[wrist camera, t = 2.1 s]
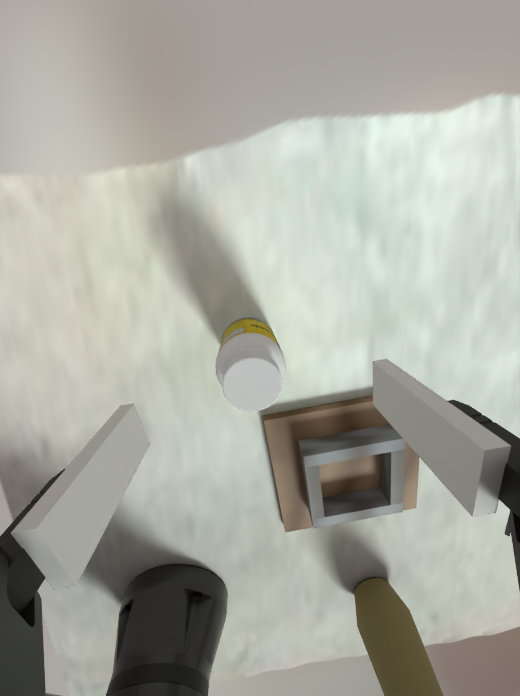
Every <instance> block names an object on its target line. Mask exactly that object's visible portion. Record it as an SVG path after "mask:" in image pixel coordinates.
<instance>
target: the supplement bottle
mask: <svg viewBox="0 0 520 696" xmlns="http://www.w3.org/2000/svg"><path fill="white" fill-rule="evenodd" d="M285 369H286V365H285V359H284V355H283V352H282V350H281V348H280V346H279V344H278V342H277V340H276V338H275V336H274V333H273V331H272V330H271V328H270V327H269V326H268V325H267V324H266V323H264V322H263V321H261V320H259V319H256V318H242V319H239V320H237V321H235V322H233V323H232V324H231V325H230V326H229V327H228V328H227V329H226V331H225V333H224V335H223V338H222V342H221V345H220V349H219V352H218V356H217V359H216V375H217V378H218V380H219V383H220V384H221V386H222V389H223V392H224V395H225V397H226V398H227V400H228V401H229V402H230V403H231V404H232V405H233V406H235V407H236V408H238V409H241V410H244V411H260V410H263V409H265V408H267V407H269V406H271V405H272V404H273V403H274V402H275V401H276V400H277V399H278V397H279V395H280V393H281V390H282V384H283V382H282V380H283V378H284V375H285Z"/></svg>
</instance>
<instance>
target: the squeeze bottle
mask: <svg viewBox="0 0 520 696" xmlns="http://www.w3.org/2000/svg"><path fill="white" fill-rule="evenodd" d="M354 593H355V604H356V616H357V627H358V629H359V632H360V634H361V637H362V639H363V642H364V644H365V647H366V650H367V652H368V655H369V657H370V660H371V662H372V665H373V667H374V670H375V673H376V675H377V678H378V680H379V683H380V685H381V688H382V690H383V693H384V695H385V696H444V695H443V693H442V691H441V688H440V685H439V683H438V680H437V678H436V675H435V673H434V670H433V668H432V665H431V663H430V660H429V658H428V655H427V653H426V650H425V648H424V645H423V643H422V640H421V638H420V635H419V633H418V630H417V628H416V625H415V623H414V620H413V618H412V615H411V613H410V610H409V609H408V608H407V606H406V605H405V604H404V602H403V601H402V600H401V599H400V597H399V596H398V595H397V593H396V592H395V591H394V589H393V588H392V587H391V586H390V584H389V583H388V582H387V581H386V580H384V579H382V578H373V579H368V580H366V581H363V582H361V583H360V584H359V585H358V586H357V587H356V589H355V591H354Z"/></svg>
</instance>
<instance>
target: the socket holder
mask: <svg viewBox="0 0 520 696" xmlns="http://www.w3.org/2000/svg"><path fill="white" fill-rule="evenodd" d="M263 419H264V425H265V430H266V435H267V440H268V445H269V451H270V456H271V461H272V466H273V471H274V476H275V482H276V487H277V492H278V497H279V502H280V508H281V513H282V518H283V523H284V528H285V532H290V531H295V530H300V529H306V528H311V527H313V528H318V527H324V526H329V525H335V524H340V523H345V522H351V521H356V520H362V519H367V518H372V517H378V516H383V515H389V514H394V513H399V512H403V510H408V509H414V508H416V504H417V487H418V470H419V456H418V455H417V454H416V452H415V451H414V450H413V449H412V448H411V447H410V446H409V445H408V443H407V442H406V441H405V440H404V439H403V438H402V437H401V436H400V434H399V433H398V432H397V431H396V430H395V429H394V428H393V427H392V425H391V424H390V423H389V422H388V421H387V420H386V419H385V417H384V416H383V415H382V414H381V413H380V412H379V411H378V410H377V408H376V407H375V406H374V405H373V396H369V397H363V398H358V399H352V400H347V401H341V402H336V403H330V404H325V405H319V406H314V407H308V408H303V409H297V410H292V411H286V412H281V413H276V414H270V415H265V416H263Z"/></svg>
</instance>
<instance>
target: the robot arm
mask: <svg viewBox="0 0 520 696" xmlns="http://www.w3.org/2000/svg"><path fill="white" fill-rule="evenodd" d="M373 405H374V406H375V407H376V408H377V410H378V411H379V412H380V413H381V414H382V415H383V416H384V417H385V419H386V420H387V421H388V422H389V423H390V424H391V425H392V427H393V428H394V429H395V430H396V431H397V432H398V433H399V434H400V436H401V437H402V438H403V439H404V440H405V441H406V442H407V443H408V445H409V446H410V447H411V448H412V449H413V450H414V451H415V452H416V454H417V455H418V456H419V457H420V458H421V459H422V460H423V462H424V463H425V464H426V465H427V466H428V467H429V468H430V469H431V471H432V472H433V473H434V474H435V475H436V476H437V477H438V478H439V480H440V481H441V482H442V483H443V484H444V485H445V486H446V488H447V489H448V490H449V491H450V492H451V493H452V494H453V495H454V497H455V498H456V499H457V500H458V501H459V502H460V503H461V504H462V506H463V507H464V508H465V509H466V510H467V511H468V512H469V514H470V515H471V516H472V517H475V516H481V515H487V514H493V513H496V510H497V506H498V501H499V500H501V501H502V502H503V503H504V504H505V505H506V506H507V507H508V508H509V509H510V514H509V518H508V522H507V526H506V530H505V535H508V536H510V533H511V536H512V543H513V549H514V556H515V563H516V569H517V576H518V583H519V590H520V438H518V437H517V436H515V435H513V434H512V433H510V432H509V431H507V430H506V429H504V428H503V427H501V426H500V425H498V424H497V423H495V422H492V420H490V419H489V418H487V417H486V416H484V415H483V416H482V414H481V413H480V412H478V411H477V410H475V409H473V408H472V407H470V406H469V405H466V404H463V403H461V402H458V401H456V400H450V401H446V400H445V399H443V398H442V397H441V396H439V395H438V394H436V393H435V392H433V391H432V390H430V389H429V388H428V387H426V386H425V385H423V384H422V383H420V382H419V381H418V380H416V379H415V378H413V377H412V376H410V375H409V374H408V373H406V372H405V371H403V370H402V369H400V368H399V367H398V366H396V365H395V364H393V363H392V362H390V361H389V360H387V359H383V360H377V361H373ZM149 445H150V442H149V439H148V437H147V434H146V432H145V429H144V427H143V424H142V422H141V419H140V417H139V414H138V412H137V409H136V407H135V404H134V403H133V404H128V405H122V406H120V407H119V408H118V409H117V410H116V411H115V413H114V414H113V415H112V416H111V417H110V418H109V419H108V421H107V422H106V423H105V424H104V425H103V426H102V428H101V429H100V430H99V431H98V432H97V433H96V435H95V436H94V437H93V438H92V439H91V440H90V442H89V443H88V444H87V445H86V446H85V447H84V448H83V450H82V451H81V452H80V453H79V454H78V455H77V457H76V458H75V459H74V460H73V461H72V462H71V464H70V465H69V466H68V467H67V468H66V469H64V470H62V471H61V472H60V473H59V474H57V475H56V476H55V477H53V478H52V479H51V480H50V481H49V482H48V483H47V484H46V485H45V487H44V488H43V489H42V490H41V491H40V494H37V496H36V497H35V498H34V499H33V500H32V501H31V504H29V505H28V506H27V507H26V508H25V509H24V510H23V511H22V512H21V514H20V515H19V516H18V517H17V518H16V519H15V520H14V521H13V523H12V524H11V525H10V526H9V527H8V528H7V529H6V531H5V532H4V533H3V534H2V535H1V536H0V696H59V695H54V694H49V693H45V672H44V650H43V626H42V604H41V597H40V595H39V593H38V592H37V590H38V589H39V587H40V586H41V584H42V582H43V581H44V579H46V580H47V582H48V583H49V584H50V586H51V587H52V588H53V590H54V589H60V588H66V587H71V586H76V585H77V583H78V581H79V580H80V578H81V576H82V574H83V572H84V570H85V568H86V566H87V564H88V562H89V560H90V558H91V557H92V555H93V553H94V551H95V549H96V547H97V545H98V543H99V541H100V539H101V537H102V535H103V533H104V532H105V530H106V528H107V526H108V524H109V522H110V520H111V518H112V516H113V514H114V512H115V510H116V508H117V507H118V505H119V503H120V501H121V499H122V497H123V495H124V493H125V491H126V489H127V487H128V485H129V483H130V482H131V480H132V478H133V476H134V474H135V472H136V470H137V468H138V466H139V464H140V462H141V460H142V458H143V457H144V455H145V453H146V451H147V449H148V447H149ZM227 596H228V595H227V589H226V587H225V585H224V583H223V582H222V581H221V580H220V579H219V578H218V577H217V576H216V575H214V574H213V573H211V572H209V571H207V570H204V569H201V568H198V567H194V566H188V565H168V566H162V567H157V568H154V569H151V570H148V571H146V572H144V573H142V574H141V575H139V576H138V577H136V578H135V579H134V580H133V581H132V582H131V583H130V585H129V586H128V588H127V591H126V594H125V596H124V599H123V602H122V605H121V608H120V612H119V620H118V630H117V639H116V648H115V658H114V667H113V674H112V678H111V681H110V684H109V688H108V691H107V694H106V696H208V688H209V678H210V672H211V669H212V665H213V662H214V658H215V655H216V651H217V648H218V644H219V641H220V637H221V634H222V630H223V627H224V623H225V619H226V614H227Z"/></svg>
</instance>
